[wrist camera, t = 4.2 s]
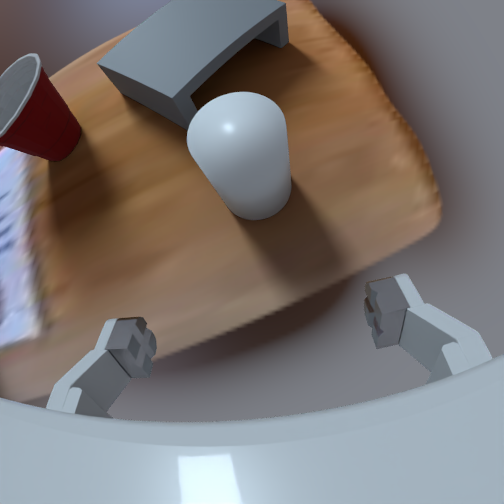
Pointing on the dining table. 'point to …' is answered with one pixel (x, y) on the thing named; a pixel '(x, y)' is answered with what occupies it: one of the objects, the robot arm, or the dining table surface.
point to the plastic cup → (35, 112)
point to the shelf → (188, 50)
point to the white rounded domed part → (243, 153)
